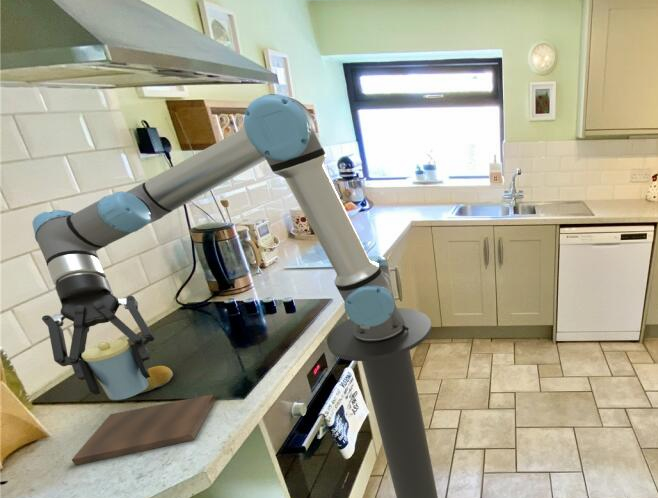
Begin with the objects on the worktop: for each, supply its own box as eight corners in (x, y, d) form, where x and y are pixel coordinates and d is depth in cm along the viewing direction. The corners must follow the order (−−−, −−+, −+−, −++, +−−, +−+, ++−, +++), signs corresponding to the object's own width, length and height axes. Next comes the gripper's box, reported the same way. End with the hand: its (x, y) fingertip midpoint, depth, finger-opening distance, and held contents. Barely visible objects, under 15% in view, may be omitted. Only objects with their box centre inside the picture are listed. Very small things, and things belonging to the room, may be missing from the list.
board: (215, 399, 96) (213, 394, 96) (193, 439, 84) (190, 434, 84) (114, 419, 92) (110, 413, 91) (75, 465, 80) (71, 459, 79)
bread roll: (178, 380, 104) (171, 367, 102) (133, 398, 98) (125, 385, 96) (168, 369, 109) (162, 356, 107) (125, 386, 103) (118, 372, 101)
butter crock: (156, 377, 87) (131, 331, 82) (141, 396, 81) (113, 347, 76) (118, 384, 86) (90, 337, 80) (99, 404, 80) (68, 355, 75)
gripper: (148, 277, 92) (187, 369, 88) (21, 306, 81) (59, 411, 77) (138, 260, 86) (179, 357, 82) (-1, 288, 75) (39, 402, 71)
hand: (121, 383), depth 79 cm, fingers closed on butter crock, 7 cm apart
